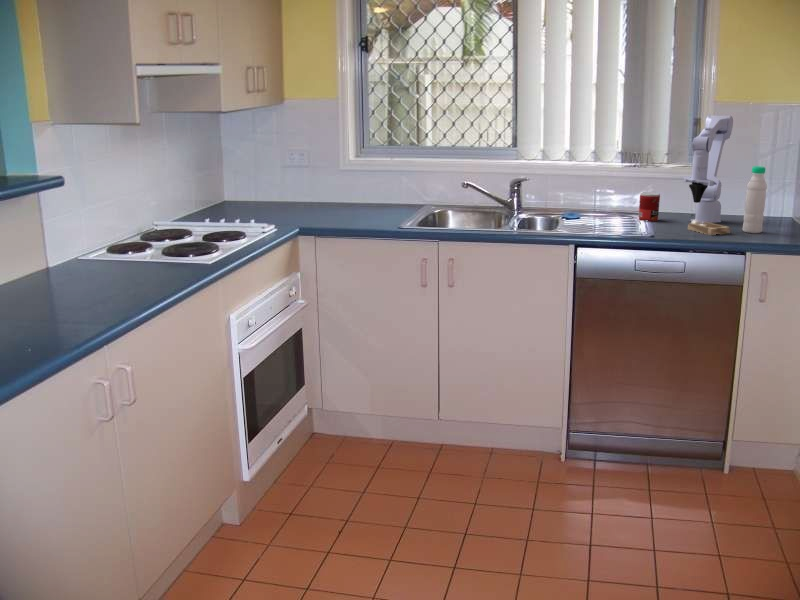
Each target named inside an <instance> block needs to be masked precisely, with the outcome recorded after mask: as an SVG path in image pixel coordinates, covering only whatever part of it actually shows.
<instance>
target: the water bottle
mask: <svg viewBox="0 0 800 600" xmlns="http://www.w3.org/2000/svg"><path fill="white" fill-rule="evenodd" d="M765 173H766V167H765V166H753V167H752V168H751V174H752V176H751V178H750V180H749V181H748V183H747V184H746V193H745V194H746V195H745V199H744V200H745V202H744V214H743V224H742V232H744V233H746V232H747V234H761V233H762V232H763V222H764V212H765V207H766V206H765V205H766V199H767V198H766V197H767V195H766V194H767V188H768V186H767V183H766V179H765V177H764V175H765Z"/></svg>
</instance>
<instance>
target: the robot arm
mask: <svg viewBox="0 0 800 600" xmlns="http://www.w3.org/2000/svg"><path fill="white" fill-rule="evenodd" d="M733 127H734V117H733V115H713V114H712V115H711V114H709V115H707V116H706V119H705V128H703V129H702V130H701V132H700V133H699V134H698V136H695V137H693V139H692V142H691V144H692V145H691V149H692V152H691V153H692V154H691V155H692V165H691V167H692V169H691V176H684V177H683V183H690V184H688V186H689V189H690V191H691V194H692V199H693V203H694V204H695V203H696V205H695V206H696V207H695V218H693V219H690V221H691V222H692V221H693V220H697V221H701V222H702V223H703V222H709V223H714V224H718V223H721V222H722V221H721V214H722V213H721V211H722V203H721V201H720V200H719V199H720V197H721V193H722V182H721V180H720V179H719V178H717V176H718V175H717V174H718V170H719V166H720V161H721V157H722V153H723V150H724V149H723V148H724V144H725V143H726V140H728V139H730V138H731V135H732V131H733Z"/></svg>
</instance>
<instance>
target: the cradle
mask: <svg viewBox="0 0 800 600" xmlns="http://www.w3.org/2000/svg"><path fill="white" fill-rule="evenodd" d="M703 224H704V225H708V226H709V227H705V226H701V225H697V224H692V223H691V222H690V223H688V224H687V231H690V230H692V231H691V232H694V231H696V232H695V233H698V232H700V233H699V234H703V233H704V234H703V235H707V234H708V236H717V235H716V234H720V235H726V234H725V233H729V234H730V230H731V227H730V226H727V225H722V224H719V223H709V222H703Z"/></svg>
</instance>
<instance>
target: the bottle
mask: <svg viewBox="0 0 800 600" xmlns="http://www.w3.org/2000/svg"><path fill="white" fill-rule="evenodd" d="M690 223H692V224H697V225H701V226H705V227H709V226H708V225H704V224H703V223H702V222H701V221H697V220H693V221H691V222H690Z"/></svg>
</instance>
